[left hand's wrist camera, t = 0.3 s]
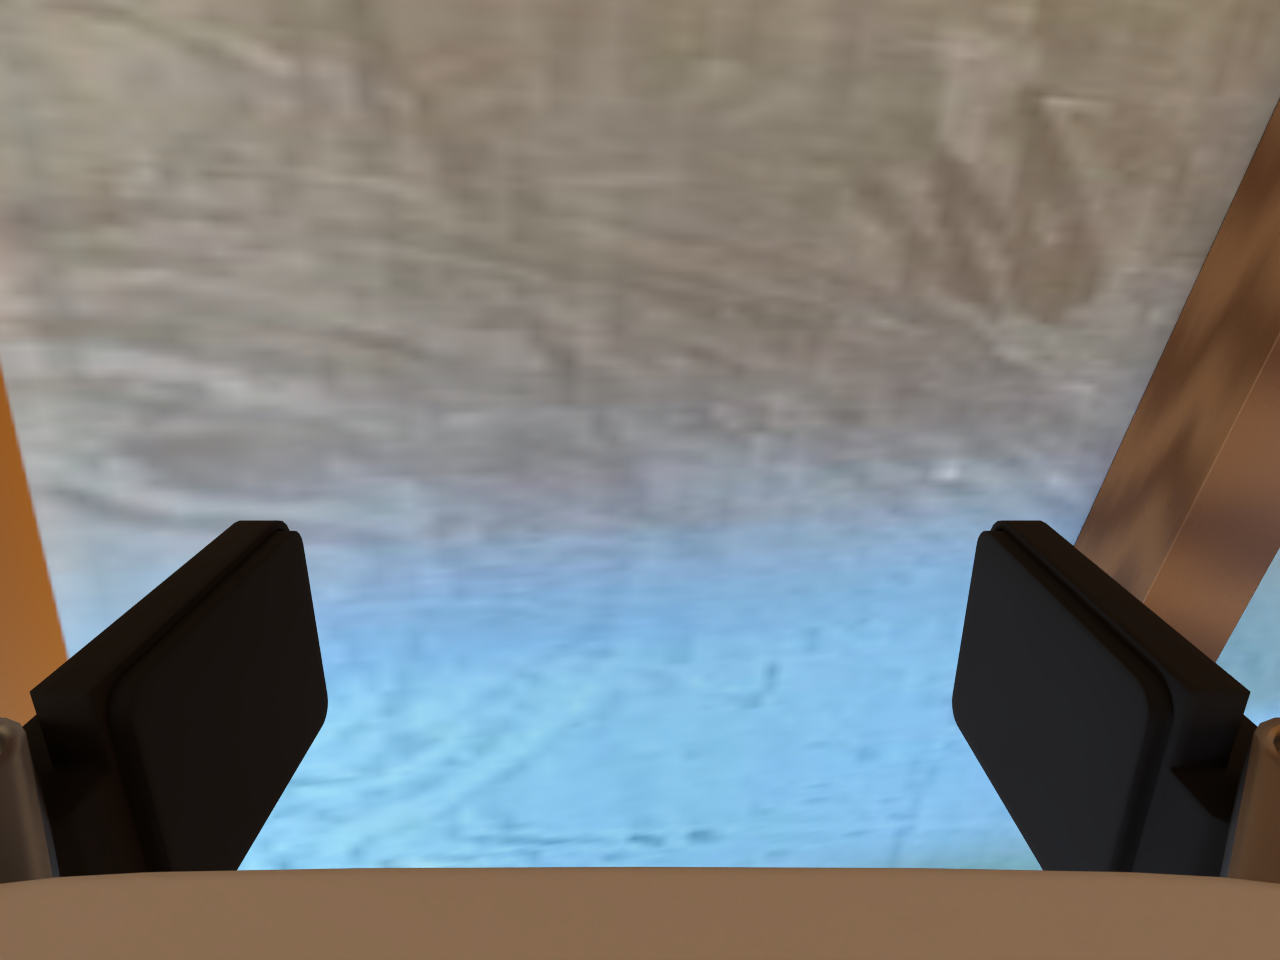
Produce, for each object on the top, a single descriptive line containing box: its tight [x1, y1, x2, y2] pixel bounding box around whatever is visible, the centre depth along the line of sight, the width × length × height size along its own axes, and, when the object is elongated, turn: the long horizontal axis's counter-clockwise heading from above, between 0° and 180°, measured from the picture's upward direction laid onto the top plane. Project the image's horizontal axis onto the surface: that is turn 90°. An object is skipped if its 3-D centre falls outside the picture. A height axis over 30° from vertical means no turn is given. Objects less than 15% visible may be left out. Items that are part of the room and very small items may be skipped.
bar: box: [1074, 100, 1280, 662], centre depth 37 cm, size 50×5×6 cm, turn 167°
